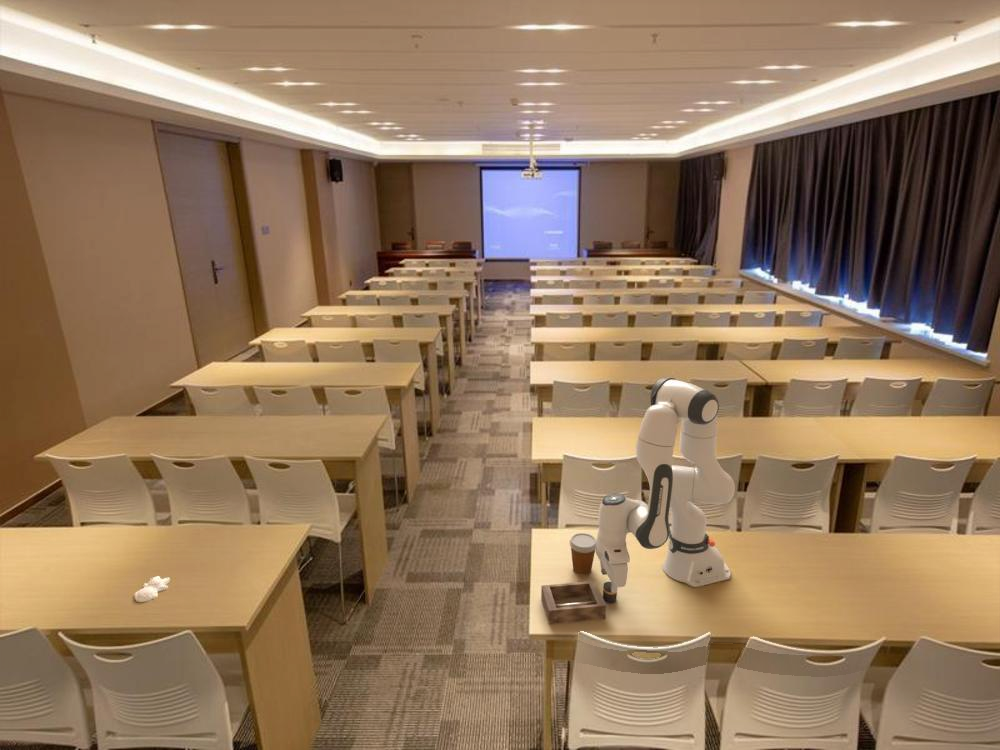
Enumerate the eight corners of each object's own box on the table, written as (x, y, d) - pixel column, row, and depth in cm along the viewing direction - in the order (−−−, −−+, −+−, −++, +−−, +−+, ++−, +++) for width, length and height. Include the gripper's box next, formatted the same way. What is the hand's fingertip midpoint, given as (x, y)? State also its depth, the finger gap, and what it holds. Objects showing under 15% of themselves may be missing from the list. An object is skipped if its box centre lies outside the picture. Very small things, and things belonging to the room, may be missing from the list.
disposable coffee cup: (595, 579, 206) (596, 549, 202) (567, 576, 208) (568, 546, 204) (596, 563, 215) (598, 533, 211) (569, 560, 217) (570, 530, 213)
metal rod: (597, 602, 191) (597, 600, 190) (598, 604, 190) (598, 602, 190) (550, 607, 189) (551, 604, 189) (551, 609, 188) (551, 606, 188)
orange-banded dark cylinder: (614, 593, 199) (614, 580, 198) (618, 602, 195) (619, 589, 194) (600, 594, 199) (601, 582, 197) (604, 603, 195) (605, 591, 193)
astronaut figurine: (176, 582, 207) (175, 574, 206) (149, 605, 196) (147, 597, 195) (156, 577, 209) (154, 570, 208) (127, 600, 198) (125, 592, 198)
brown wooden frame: (595, 593, 199) (595, 580, 198) (605, 618, 188) (606, 605, 187) (541, 598, 197) (541, 585, 196) (548, 624, 186) (548, 610, 184)
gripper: (591, 527, 200) (589, 564, 204) (611, 562, 180) (609, 602, 184) (610, 526, 201) (608, 562, 204) (632, 561, 181) (629, 600, 185)
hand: (608, 582), depth 194 cm, fingers open, 8 cm apart
